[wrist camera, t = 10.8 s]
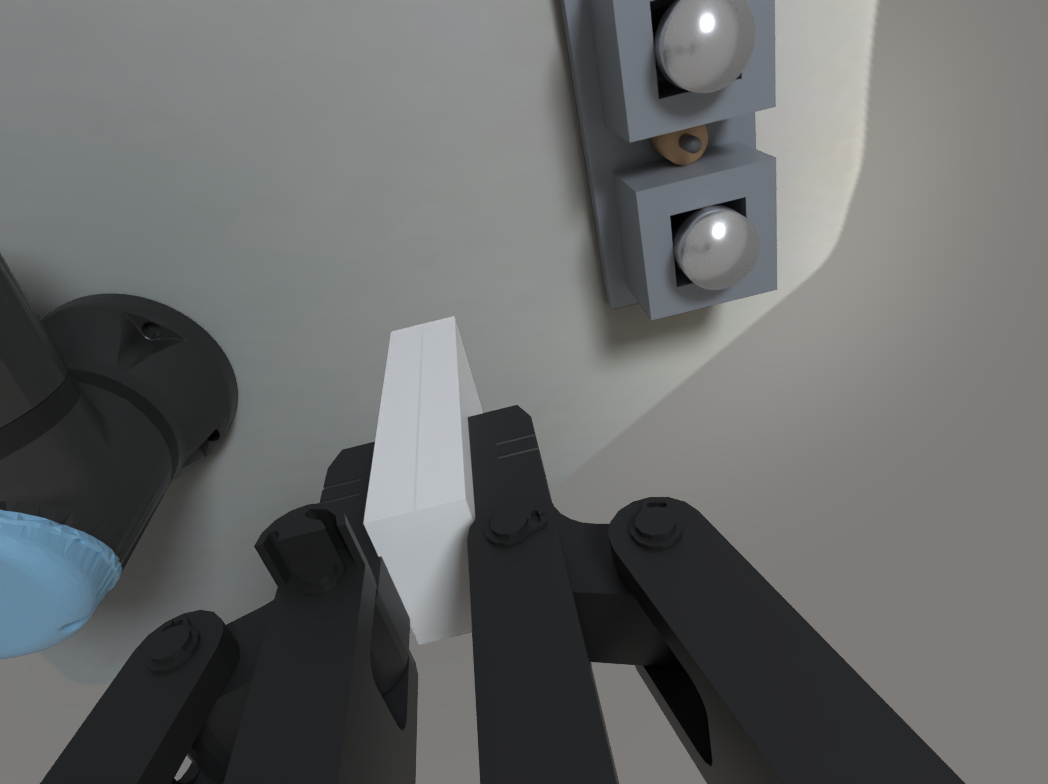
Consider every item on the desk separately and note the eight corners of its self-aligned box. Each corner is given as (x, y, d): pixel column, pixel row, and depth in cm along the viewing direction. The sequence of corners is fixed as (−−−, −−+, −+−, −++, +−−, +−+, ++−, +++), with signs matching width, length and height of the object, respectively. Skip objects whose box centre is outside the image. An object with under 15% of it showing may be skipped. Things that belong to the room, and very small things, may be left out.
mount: (607, 302, 53) (633, 344, 46) (552, -46, 40) (576, -60, 33) (750, 266, 52) (797, 303, 46) (739, -93, 40) (801, -116, 33)
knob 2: (651, 259, 49) (686, 298, 42) (644, 194, 46) (680, 224, 40) (715, 243, 49) (761, 279, 42) (711, 177, 46) (759, 204, 40)
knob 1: (632, 89, 43) (669, 103, 36) (622, 4, 40) (660, 0, 33) (705, 71, 43) (756, 81, 36) (699, -16, 40) (754, -23, 33)
